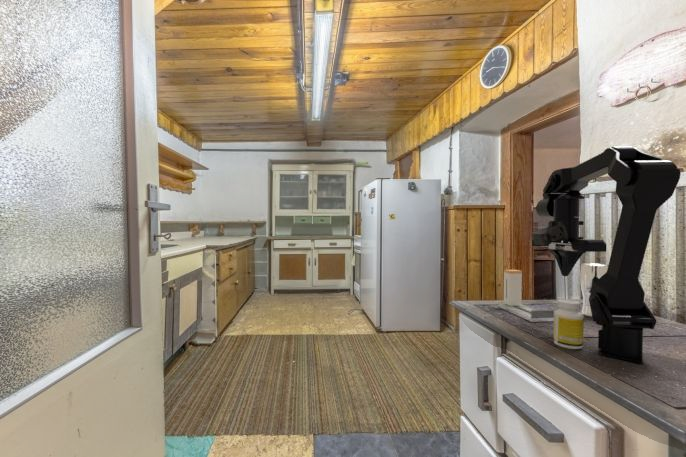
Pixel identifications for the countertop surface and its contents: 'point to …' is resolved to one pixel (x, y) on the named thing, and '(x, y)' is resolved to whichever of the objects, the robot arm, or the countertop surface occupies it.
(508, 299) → the white rectangular canister
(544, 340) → the countertop surface
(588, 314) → the beer glass
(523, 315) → the fader rail
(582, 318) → the supplement bottle
